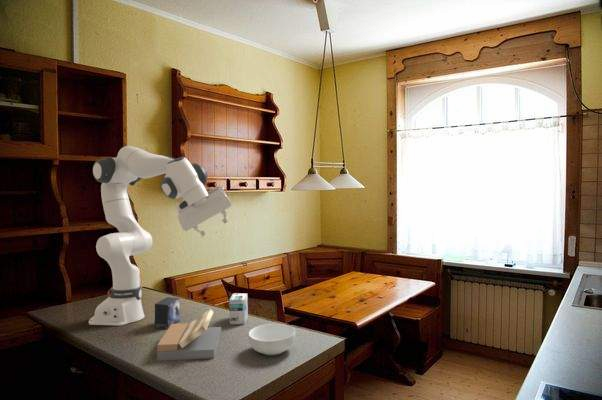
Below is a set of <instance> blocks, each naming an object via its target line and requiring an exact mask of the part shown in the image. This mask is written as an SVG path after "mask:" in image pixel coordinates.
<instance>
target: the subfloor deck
mask: <svg viewBox="0 0 602 400" xmlns="http://www.w3.org/2000/svg"><path fill="white" fill-rule="evenodd" d="M189 324H190V323H189V322H187V323H186V322H182V323H179V322H178V323H176V324H171V325H170V327H169V328H168V329H166V332H165V333H164V334H163V336H162V337H161V339H160V340H159V341H158V344H157V345H156V347H157V350H156V357H157V358H156V361H157V362H158V361H159V362H160V361H177V360H178V361H180V360H199V359H201V360H203V359H215V356H216V353H217V349H218V347H219V343H220V339H221V337H222V326H212V327H211V326H208V327H207V330H206V331H205V332H204V333H202V334H201V335H199V336H198V337H197V338H195V339H194V340H193V341H191V342H190V343H188V344H187V345H186V346H184V347H183V348H182V347H181V346H180V345H179V342H180V340H181V338H182V337H183V335H184V333H185V331H186V329H187V327H188V326H189Z"/></svg>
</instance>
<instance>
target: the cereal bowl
mask: <svg viewBox="0 0 602 400" xmlns="http://www.w3.org/2000/svg"><path fill="white" fill-rule="evenodd" d="M296 337H297V335H296V329H295V328H294V327H293V326H291V325H289V324H288V325H287V324H283V323H266V324H261V325H259V326H255V327H253V328H252V329H250V330H249V332H248V342H249V345H250V347H251V348H252V349H253V350H254V351H256V352H258V353H261V354H263V355H266V356H277V355H280V354H283V353H284V352H286V351H288V350H290V348H292V346H293V345H294V344H295V341H296Z"/></svg>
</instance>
